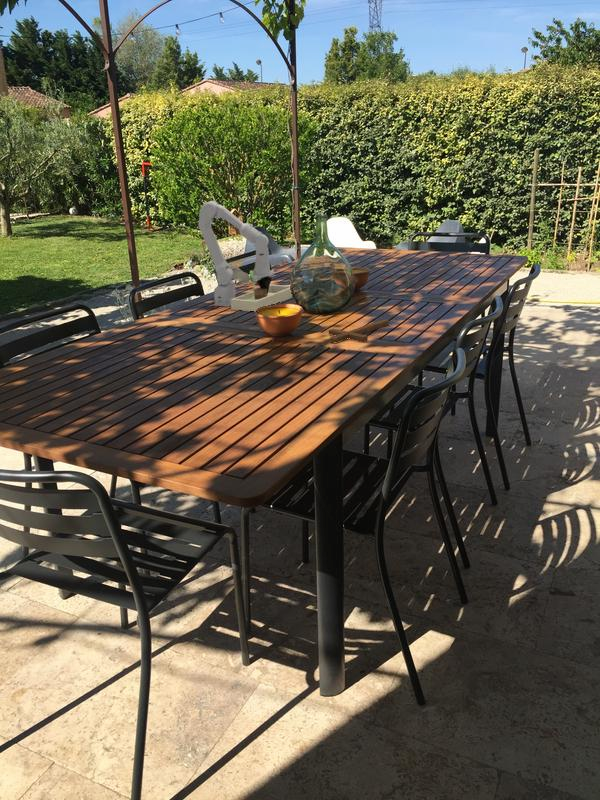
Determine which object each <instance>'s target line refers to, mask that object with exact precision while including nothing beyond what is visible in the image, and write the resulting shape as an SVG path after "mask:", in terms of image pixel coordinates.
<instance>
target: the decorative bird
mask: <svg viewBox="0 0 600 800" xmlns="http://www.w3.org/2000/svg"><path fill="white" fill-rule="evenodd" d="M228 265H229V267H230V268H231V269H232V270H233V272H234V277H233V278H232V280H233V281H234V282H237V283H239V285H241V284H242V285H246V284H248V283H249V281H250V282H252V285H253V284H254V286H255V285H256V284H258V282H257V281H253V276H255V275H256V274H257V265H256V260H255V263H254V268H253V270H249V274H248V273H247V272H244V271H243V270H241V268H240V267H239V266H238V265H237V264H236V263H234V262H233V261H230V263H228ZM245 283H246V284H245Z"/></svg>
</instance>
